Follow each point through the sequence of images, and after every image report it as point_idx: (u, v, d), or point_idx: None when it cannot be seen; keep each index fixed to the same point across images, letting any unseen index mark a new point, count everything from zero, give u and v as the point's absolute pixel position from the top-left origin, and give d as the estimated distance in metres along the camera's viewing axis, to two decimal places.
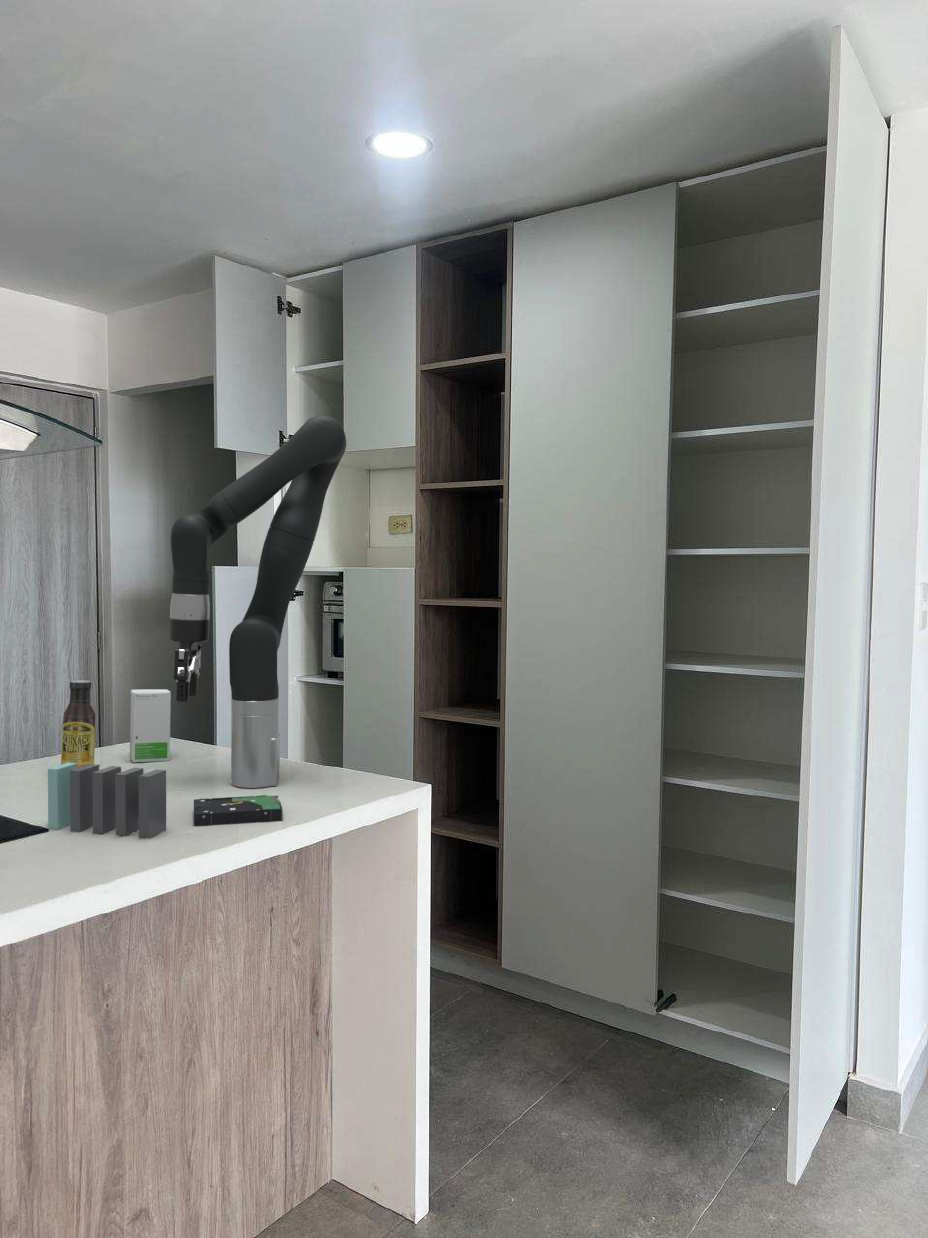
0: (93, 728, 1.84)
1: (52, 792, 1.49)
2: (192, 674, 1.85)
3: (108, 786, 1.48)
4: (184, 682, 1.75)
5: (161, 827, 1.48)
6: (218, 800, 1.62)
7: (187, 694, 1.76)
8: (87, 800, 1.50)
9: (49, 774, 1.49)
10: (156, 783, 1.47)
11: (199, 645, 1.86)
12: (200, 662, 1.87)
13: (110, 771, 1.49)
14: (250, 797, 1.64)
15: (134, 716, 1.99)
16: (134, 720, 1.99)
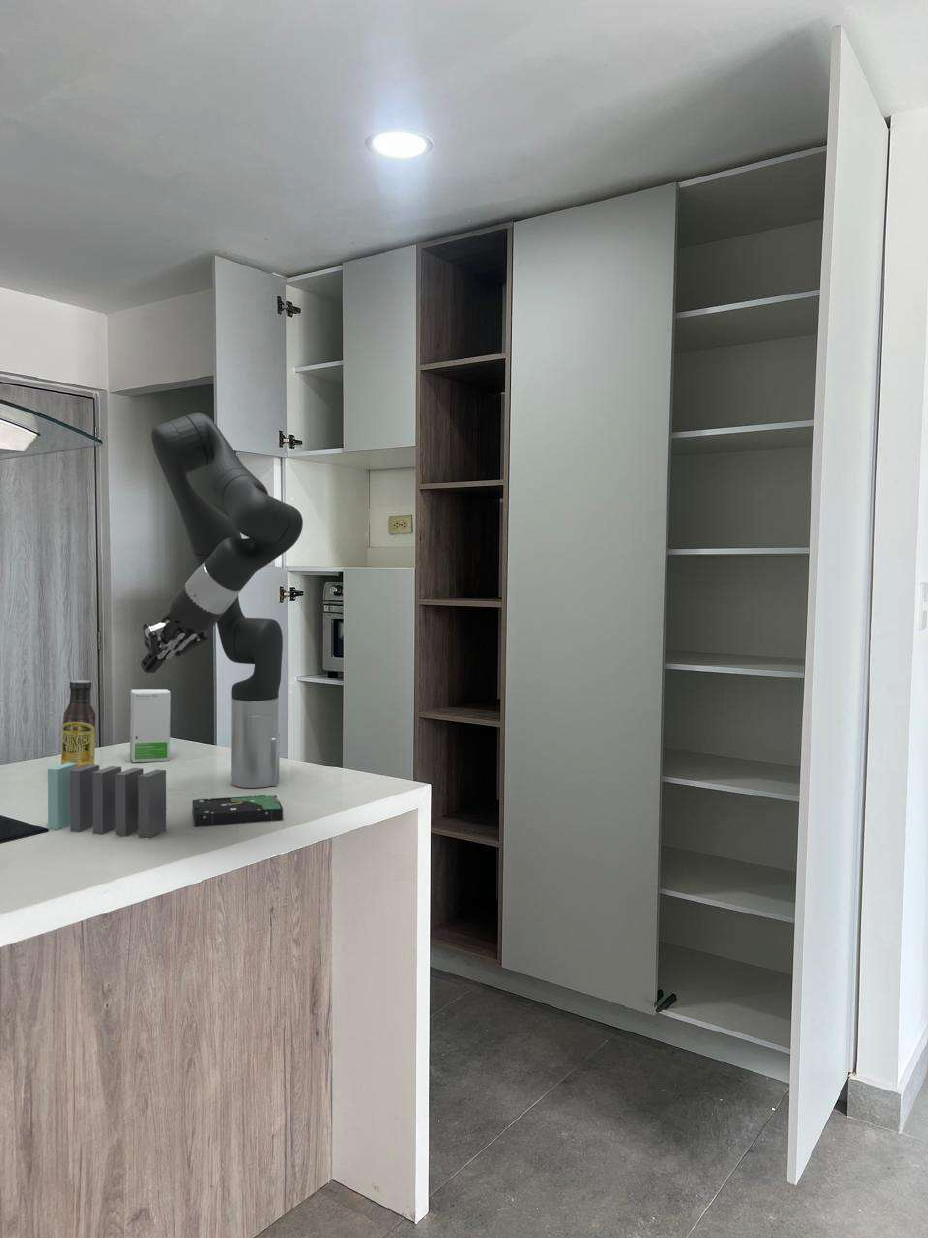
0: (93, 728, 1.84)
1: (52, 792, 1.49)
2: None
3: (108, 786, 1.48)
4: None
5: (161, 827, 1.48)
6: (217, 800, 1.62)
7: (151, 667, 1.48)
8: (87, 800, 1.50)
9: (49, 774, 1.49)
10: (155, 783, 1.47)
11: (205, 636, 1.51)
12: (187, 650, 1.50)
13: (110, 771, 1.49)
14: (249, 797, 1.64)
15: (134, 716, 1.99)
16: (134, 720, 1.99)
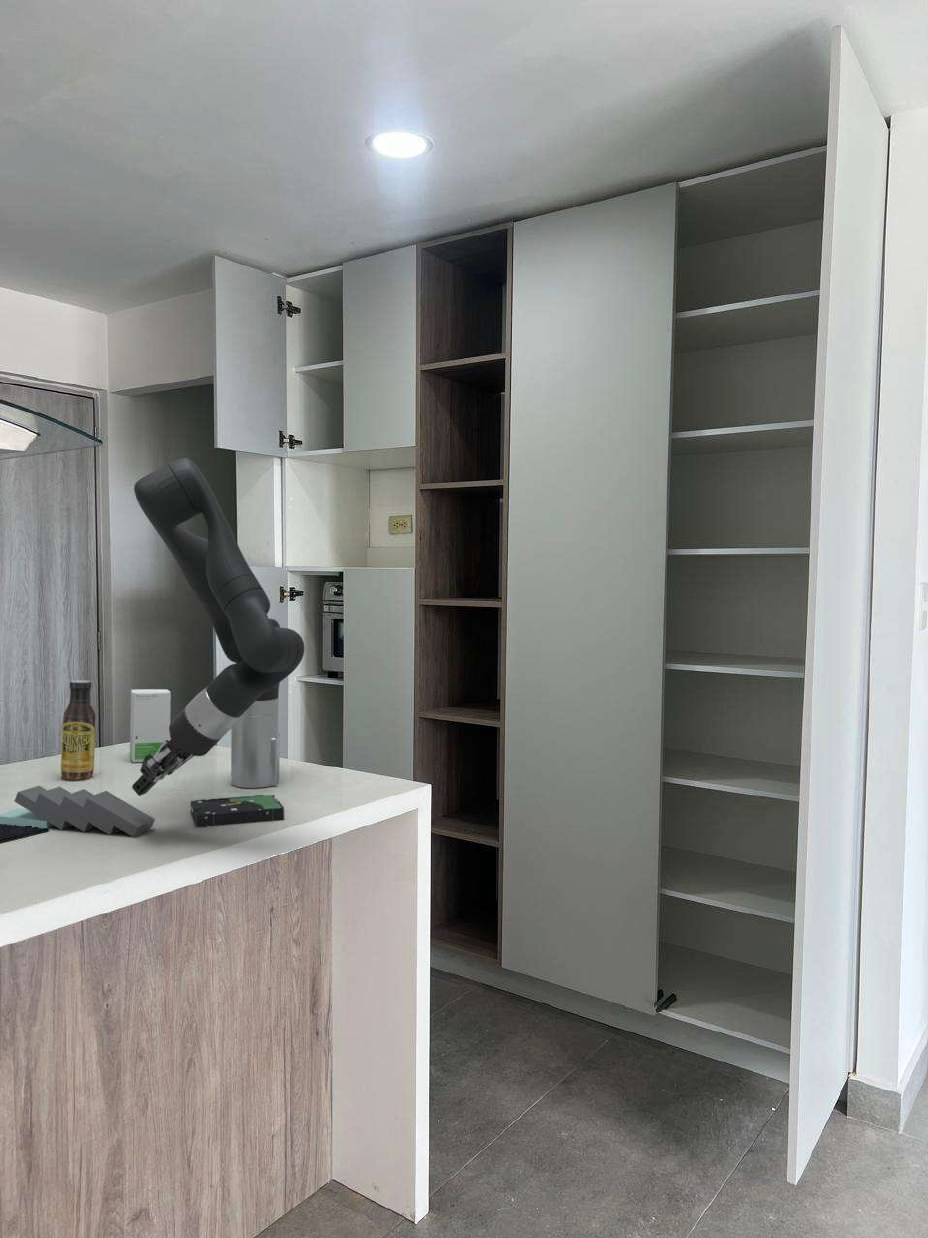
0: (93, 728, 1.84)
1: (15, 823, 1.51)
2: None
3: (58, 798, 1.51)
4: None
5: (146, 818, 1.49)
6: (215, 801, 1.62)
7: (144, 790, 1.47)
8: None
9: None
10: (102, 799, 1.49)
11: None
12: (178, 767, 1.50)
13: (49, 790, 1.51)
14: (247, 797, 1.64)
15: (134, 716, 1.99)
16: (134, 720, 1.99)
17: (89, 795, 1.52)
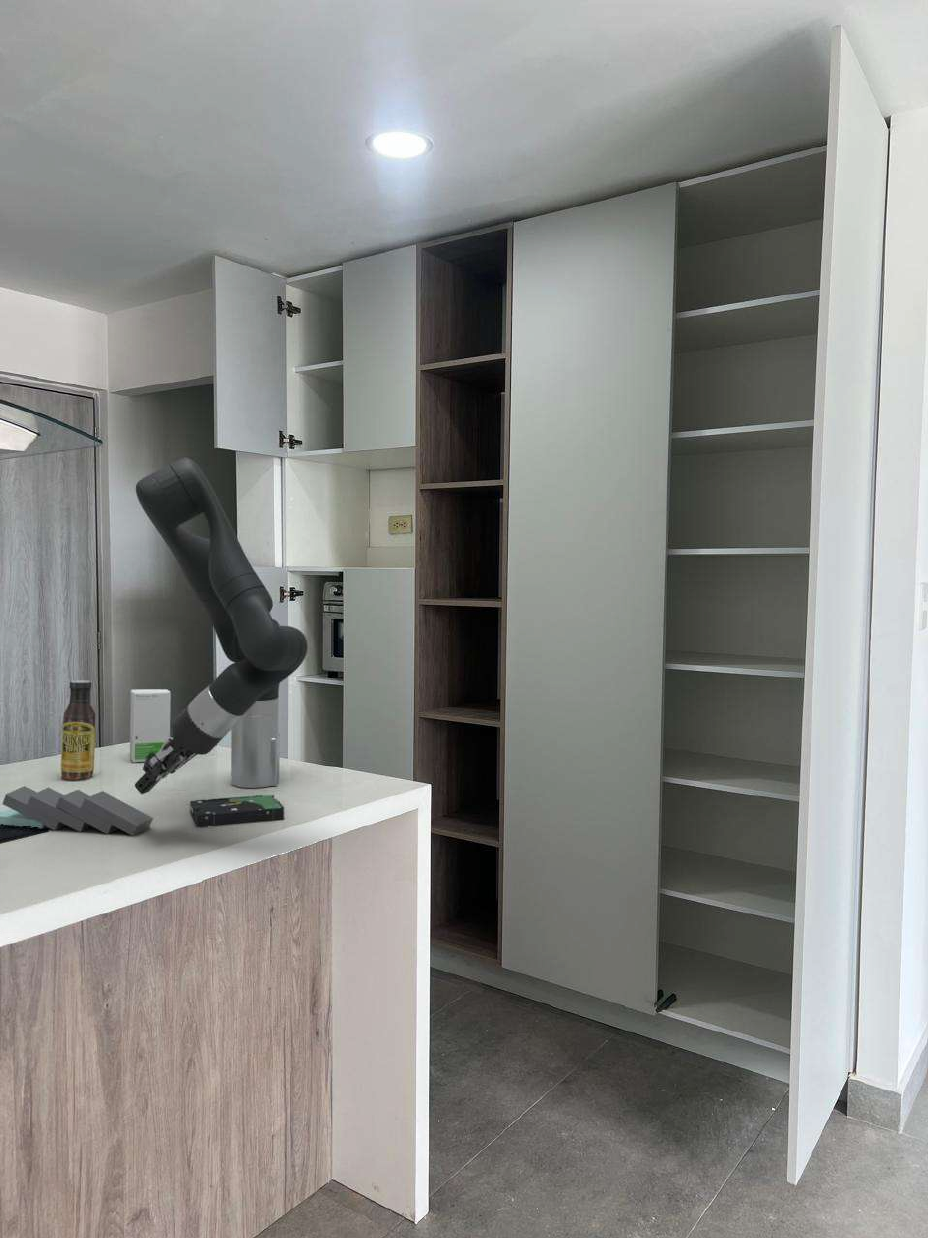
0: (93, 728, 1.84)
1: (10, 823, 1.51)
2: (160, 770, 1.47)
3: (50, 799, 1.50)
4: None
5: (144, 817, 1.50)
6: (215, 801, 1.62)
7: (147, 788, 1.47)
8: None
9: None
10: (100, 799, 1.49)
11: None
12: None
13: (39, 792, 1.50)
14: (247, 797, 1.64)
15: (134, 716, 1.99)
16: (134, 720, 1.99)
17: (84, 795, 1.52)
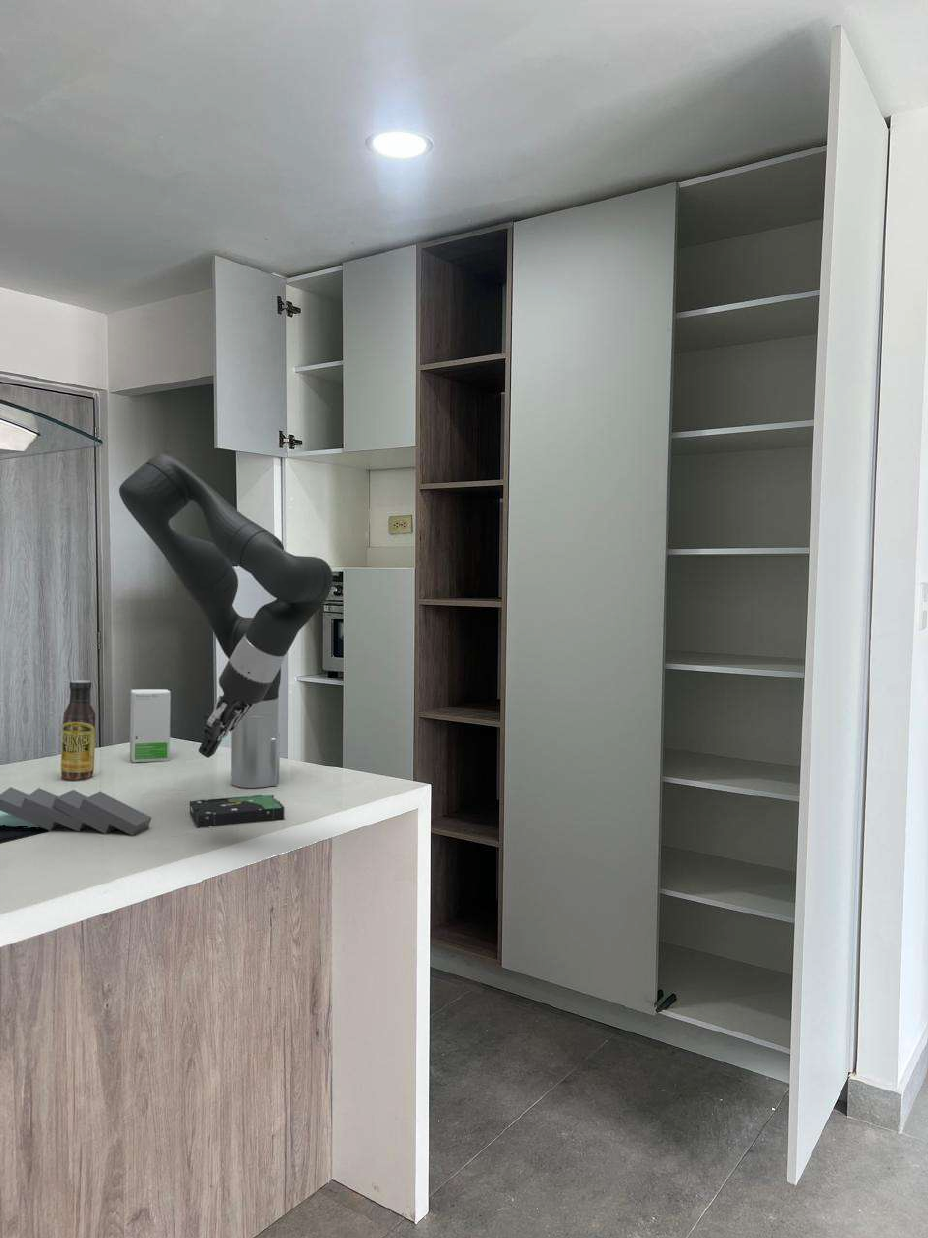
0: (93, 728, 1.84)
1: (4, 822, 1.51)
2: None
3: (44, 800, 1.49)
4: None
5: (143, 817, 1.50)
6: (214, 801, 1.62)
7: (211, 751, 1.46)
8: None
9: None
10: (98, 799, 1.49)
11: None
12: (238, 721, 1.49)
13: (31, 794, 1.49)
14: (246, 797, 1.64)
15: (134, 716, 1.99)
16: (134, 720, 1.99)
17: (79, 795, 1.52)
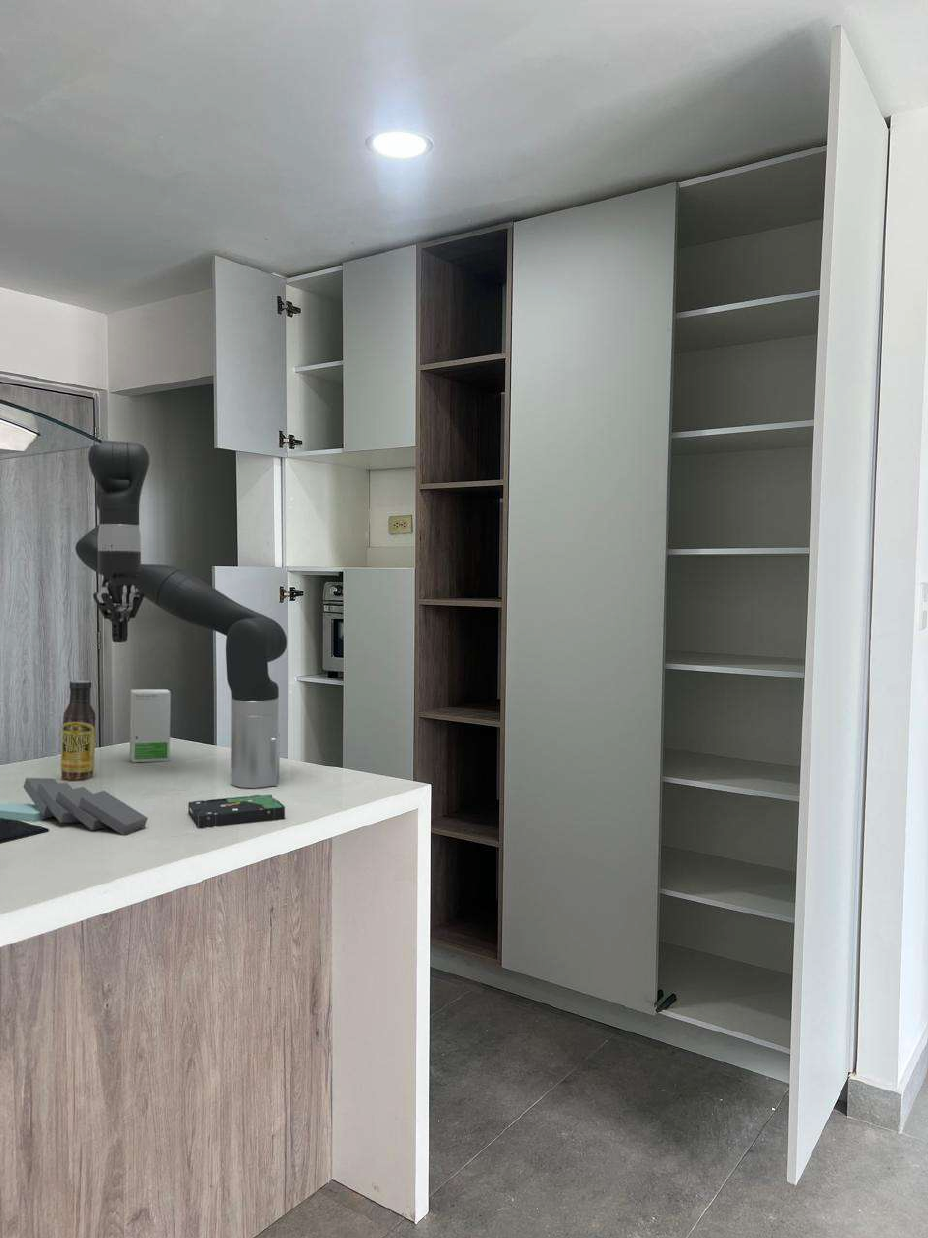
0: (93, 728, 1.84)
1: (4, 816, 1.55)
2: None
3: (55, 790, 1.56)
4: (116, 621, 1.69)
5: (138, 817, 1.50)
6: (213, 802, 1.61)
7: (122, 634, 1.70)
8: None
9: None
10: (97, 798, 1.51)
11: (141, 592, 1.76)
12: (137, 609, 1.74)
13: (52, 783, 1.58)
14: (245, 797, 1.64)
15: (134, 716, 1.99)
16: (134, 720, 1.99)
17: (86, 792, 1.55)
